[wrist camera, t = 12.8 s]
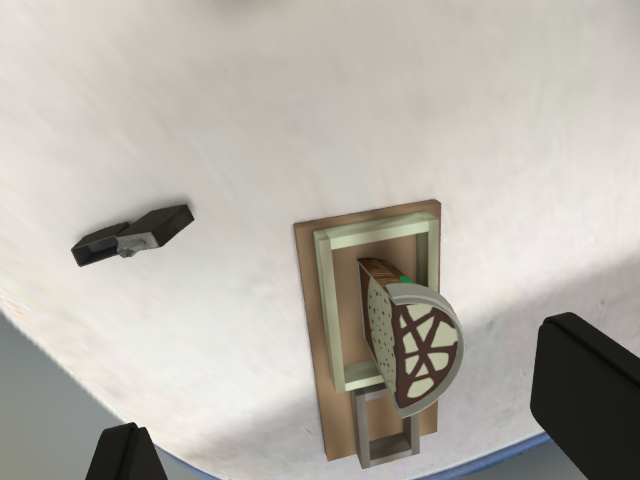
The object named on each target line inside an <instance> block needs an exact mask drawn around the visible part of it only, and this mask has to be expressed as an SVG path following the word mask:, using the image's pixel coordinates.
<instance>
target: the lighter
mask: <svg viewBox="0 0 640 480" xmlns="http://www.w3.org/2000/svg"><path fill="white" fill-rule="evenodd" d="M192 221H194V217H193V216H192V214H191V212H190V210H189V208H188V206H187V204H185V205H180V206H175V207H170V208H165V209H160V210H155V211H151V212H149V213H148V214H147V215H145V216H144V217H142V218H141V219H139V220H138V221H137V222H135V223H134V224H132V225H131V226H130V225H129V223H127V222H126V223H122V224H118V225H115V226H111V227H108V228H105V229H102V230H100V231H97V232H94V233H92V234H90V235H87V236H85V237H84V238H82V239H81V240H80V241H79V242H78V243H77V244H76V245H75V246H74V247H73V248H72V249H71V251H72V253H73V256H74V258H75V260H76V262H77V264H78V266H79V267H82V266H85V265H88V264H91V263H94V262H97V261H100V260H103V259H106V258H109V257H112V256H116V255H120V256H121V257H123V258H125V257H132V256H133V255H134V254H135V253H137V252H138V251H140V250H147V249H154V248H159V247H162V246H164V245H165V244H166V243H167V242H168V241H169V240H170V239H172V238H173V237H174V236H175V235H176V234H177V233H179V232H180V231H181V230H182V229H184V228H185V227H186V226H187V225H189V224H190V223H191V222H192ZM124 255H125V256H124Z"/></svg>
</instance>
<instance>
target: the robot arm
mask: <svg viewBox="0 0 640 480" xmlns="http://www.w3.org/2000/svg"><path fill="white" fill-rule="evenodd" d="M530 409H531V412H532V415H533V417H534V418H535V420H536V421H537V422H538V424H539V425H540V426H541V427H542V428H543V429H544V430H545V431H546V433H547V434H548V435H549V436H550V437H551V438H552V439H553V440H554V442H555V443H556V444H557V445H558V446H559V447H560V448H561V449H562V450H563V452H564V453H565V454H566V455H567V456H568V457H569V458H570V459H571V461H572V462H573V463H574V464H575V465H576V466H577V467H578V468H579V469H580V471H581V472H582V473H583V474H584V475H585V476H586V477H587V479H588V480H640V358H638V357H637V356H635V355H634V354H633V353H631V352H630V351H628V350H627V349H625V348H624V347H622V346H621V345H620V344H618V343H617V342H615V341H614V340H612V339H611V338H609V337H608V336H607V335H605V334H604V333H602V332H601V331H599V330H598V329H596V328H595V327H594V326H592V325H591V324H589V323H588V322H586V321H585V320H583V319H582V318H580V317H579V316H578V315H576V314H574V313H572V312H566V313H562V314H558V315H554V316H550V317H547V318H545V320H544V321H543V325H541V326H540V327H539V331H538V340H537V349H536V358H535V366H534V375H533V384H532V393H531V401H530ZM85 480H168V479H167V476H166V474H165V471H164V469H163V467H162V464H161V462H160V460H159V457H158V455H157V452H156V450H155V447H154V445H153V443H152V440H151V438H150V435H149V433H148V431H147V429H146V428H145V427H141V428H138V426H137V425H136V424H135V423H134V422H131V423H127V424H124V425H120V426H116V427H112V428H108V429H105V430H104V431H103V432H102V434H101V436H100V439H99V441H98V444H97V447H96V450H95V453H94V456H93V459H92V462H91V465H90V467H89V470H88V473H87V476H86V479H85Z"/></svg>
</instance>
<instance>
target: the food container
mask: <svg viewBox="0 0 640 480" xmlns="http://www.w3.org/2000/svg"><path fill="white" fill-rule="evenodd" d="M356 260H357V271H358V282H359V293H360V304H361V315H362V326H363V337H364V340H365V342H366V344H367V346H368V349H369V351H370V353H371V355H372V357H373V359H374V361H375V363H376V365H377V368H378V370H379V372H380V374H381V376H382V378H383V380H384V382H385V385H386V387H387V389H388V391H389V393H390V395H391V397H392V399H393V402H394V404H393V406H394V408H395V409H396V411H397V413H398V414H399V415H400V416H401V418H402V419H403V418H406V417H409V416H411V415H414V414H416V413H418V412H420V411H422V410H423V409H425V408H427V407H428V406H430V405H431V404H433V403H434V402H435V401H436V400H438V399H439V398H440V397H441V396H442V395H443V394H444V393H445V392H446V391H447V390H448V388H449V387H450V386H451V385H452V383H453V382H454V380H455V379H456V377H457V375H458V373H459V371H460V369H461V366H462V363H463V359H464V353H465V341H464V336H463V331H462V327H461V324H460V322H459V320H458V318H457V316H456V314H455V312H454V310H453V309H452V307H451V305H450V304H449V303H448V301H447V300H446V299H445V298H444V297H443V296H441V295H440V294H439V293H438V292H436V291H434V290H432V289H430V288H428V287H425V286H422V285H418V284H415V283H414V282H413V281H412V280H410V279H409V278H408V277H407V276H406V275H404V274H403V273H402V272H401V271H400V270H399V269H397V268H396V267H395V266H394V265H392V264H391V263H389V262H387V261H384V260H381V259H377V258H359V259H356Z"/></svg>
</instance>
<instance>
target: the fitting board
mask: <svg viewBox="0 0 640 480" xmlns="http://www.w3.org/2000/svg"><path fill="white" fill-rule="evenodd" d="M294 229H295V236H296V243H297V250H298V257H299V265H300V272H301V279H302V286H303V293H304V301H305V308H306V315H307V322H308V329H309V336H310V344H311V351H312V358H313V365H314V372H315V379H316V387H317V394H318V401H319V408H320V415H321V423H322V430H323V437H324V444H325V451H326V456H327V460H328V461H332V460H335V459H339V458H343V457H346V456H350V455H354V454H357V455H358V458H359V461H360V464H361V467H362V469H366V468H369V467H373V466H376V465H380V464H383V463H387V462H391V461H394V460H398V459H401V458H405V457H408V456H412V455H416V454H419V453H420V439H419V437H420V436H423V435H427V434H431V433H434V432H437V409H438V400H436V401H435V402H434V403H433V404H431V405H430V406H428V407H427V408H425V409H423V410H422V411H420V412H418V413H416V414H414V415H411V416H409V417H406V418H403V419H402V418H401V416H400V415H399V414H398V413H397V411H396V409H395V408H394V406H393V404H394V402H393V399H392V397H391V395H390V393H389V391H388V389H387V387H386V385H385V382H384V380H383V378H382V376H381V374H380V372H379V370H378V368H377V365H376V363H375V361H374V359H373V357H372V355H371V353H370V351H369V349H368V346H367V344H366V342H365V340H364V337H363V326H362V315H361V304H360V293H359V282H358V271H357V260H356V259H359V258H377V259H381V260H384V261H387V262H389V263H391V264H392V265H394V266H395V267H396V268H397V269H399V270H400V271H401V272H402V273H403V274H404V275H406V276H407V277H408V278H409V279H410V280H412V281H413V282H414V283H415V284H418V285H422V286H425V287H428V288H430V289H432V290H434V291H436V292H438V293H440V235H441V203H440V202H439V201H437V200H435V199H434V200H429V201H423V202H417V203H411V204H406V205H400V206H394V207H389V208H383V209H377V210H372V211H366V212H360V213H354V214H349V215H343V216H337V217H332V218H326V219H320V220H315V221H309V222H303V223H298V224H294Z"/></svg>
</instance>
